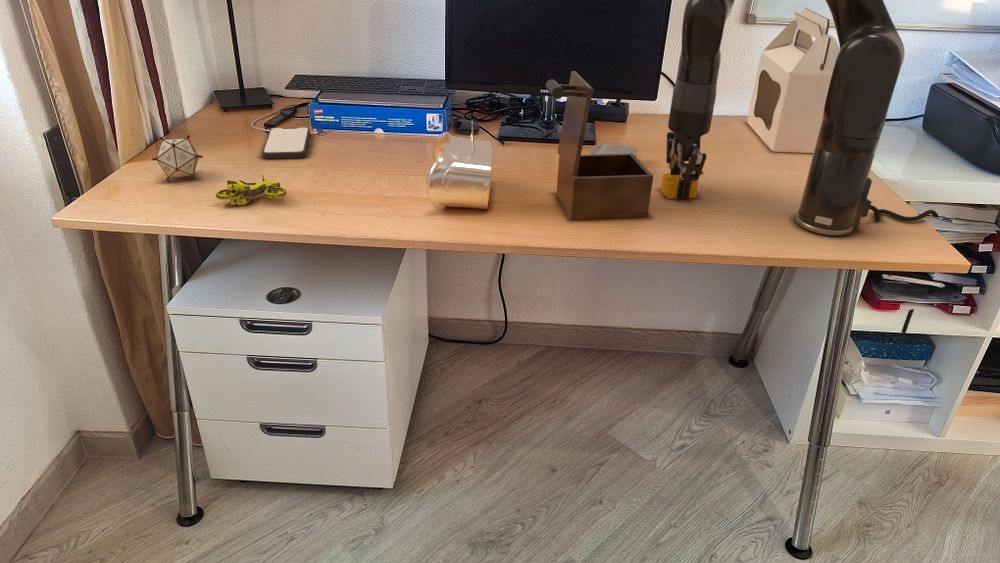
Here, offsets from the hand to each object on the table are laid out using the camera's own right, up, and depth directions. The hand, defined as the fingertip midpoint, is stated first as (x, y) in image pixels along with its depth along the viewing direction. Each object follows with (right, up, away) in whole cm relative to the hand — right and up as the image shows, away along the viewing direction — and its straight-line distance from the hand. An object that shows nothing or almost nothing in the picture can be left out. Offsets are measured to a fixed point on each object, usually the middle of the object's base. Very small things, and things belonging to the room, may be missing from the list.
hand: (678, 192), depth 137 cm
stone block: (-11, +7, +12) cm, 17 cm away
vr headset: (-42, -1, -3) cm, 42 cm away
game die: (-95, +3, 0) cm, 95 cm away
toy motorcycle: (-79, -2, -8) cm, 79 cm away
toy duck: (0, 0, 0) cm, 0 cm away
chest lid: (-21, +10, -14) cm, 27 cm away
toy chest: (-16, -3, -6) cm, 17 cm away
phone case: (-80, +12, +17) cm, 83 cm away
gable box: (+34, +17, +32) cm, 50 cm away
